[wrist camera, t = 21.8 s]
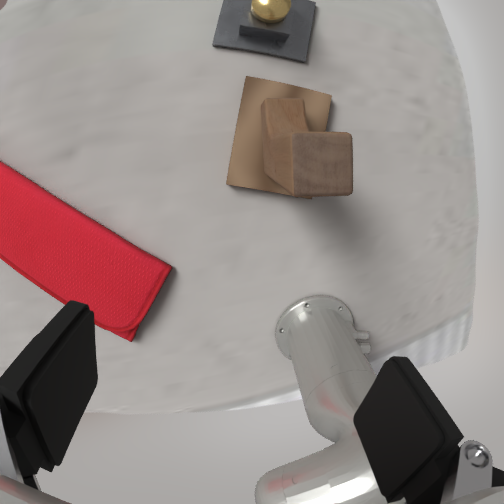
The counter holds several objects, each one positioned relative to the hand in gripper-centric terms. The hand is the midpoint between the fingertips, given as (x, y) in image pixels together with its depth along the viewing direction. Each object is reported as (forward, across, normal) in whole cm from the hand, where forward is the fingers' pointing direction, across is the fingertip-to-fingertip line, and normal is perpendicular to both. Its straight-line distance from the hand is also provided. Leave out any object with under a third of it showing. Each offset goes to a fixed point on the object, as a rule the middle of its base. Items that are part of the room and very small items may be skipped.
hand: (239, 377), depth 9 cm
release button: (+28, +2, -25) cm, 37 cm away
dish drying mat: (+33, +28, +11) cm, 45 cm away
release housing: (+32, +2, -25) cm, 41 cm away
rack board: (+32, -3, -10) cm, 34 cm away
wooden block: (+31, -4, -9) cm, 33 cm away
